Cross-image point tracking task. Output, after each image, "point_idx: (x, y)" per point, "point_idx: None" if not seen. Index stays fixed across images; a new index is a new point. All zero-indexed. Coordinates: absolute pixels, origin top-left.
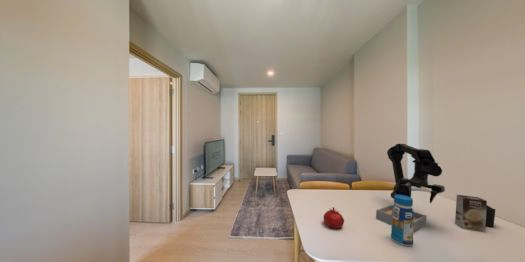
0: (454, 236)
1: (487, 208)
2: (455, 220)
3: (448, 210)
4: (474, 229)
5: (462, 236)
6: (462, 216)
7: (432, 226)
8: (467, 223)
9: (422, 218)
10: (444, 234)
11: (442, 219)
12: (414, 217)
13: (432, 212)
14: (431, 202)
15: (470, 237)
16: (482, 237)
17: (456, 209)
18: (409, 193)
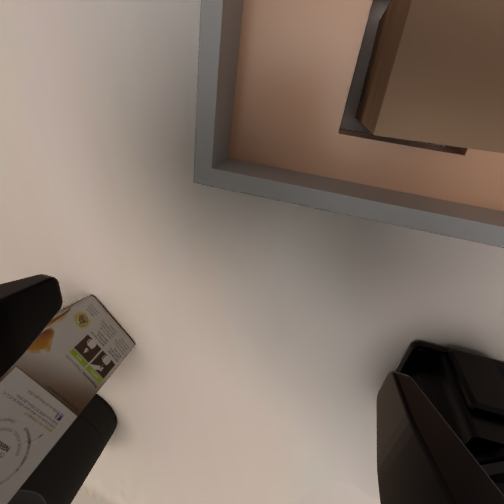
0: (59, 105)
1: (16, 499)
2: (123, 355)
3: (202, 483)
4: (57, 312)
5: (44, 158)
6: (38, 351)
7: (191, 178)
8: (51, 321)
9: (201, 46)
10: (99, 74)
11: (187, 357)
12: (306, 157)
13: (247, 426)
14: (37, 300)
15: (25, 184)
16: (11, 240)
17: (65, 419)
18: (440, 473)
